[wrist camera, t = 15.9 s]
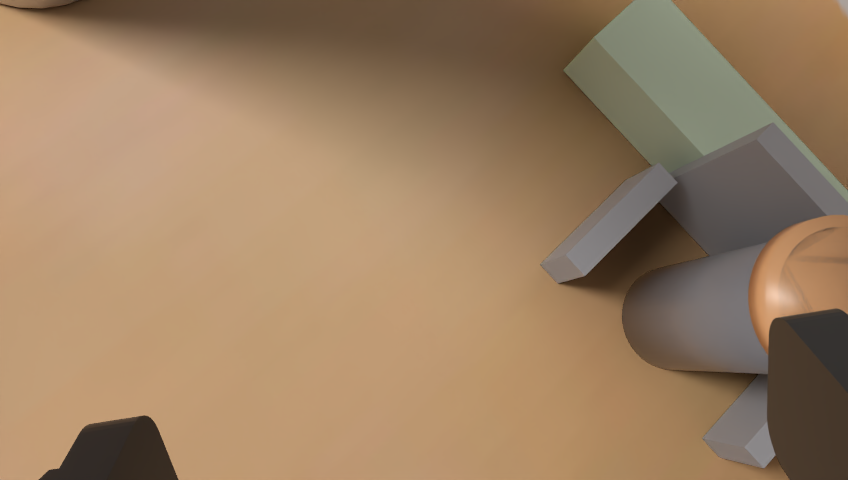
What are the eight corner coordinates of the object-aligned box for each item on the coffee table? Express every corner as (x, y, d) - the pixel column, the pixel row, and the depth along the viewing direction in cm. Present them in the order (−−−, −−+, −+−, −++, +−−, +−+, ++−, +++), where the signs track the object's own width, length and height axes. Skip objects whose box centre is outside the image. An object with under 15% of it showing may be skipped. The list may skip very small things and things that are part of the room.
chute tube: (590, 315, 36) (732, 296, 24) (668, 234, 37) (840, 179, 25) (672, 403, 36) (854, 428, 24) (748, 320, 37) (956, 305, 25)
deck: (453, 170, 36) (503, 111, 27) (617, 19, 38) (713, -80, 29) (806, 550, 36) (971, 614, 27) (947, 375, 38) (1141, 382, 29)
